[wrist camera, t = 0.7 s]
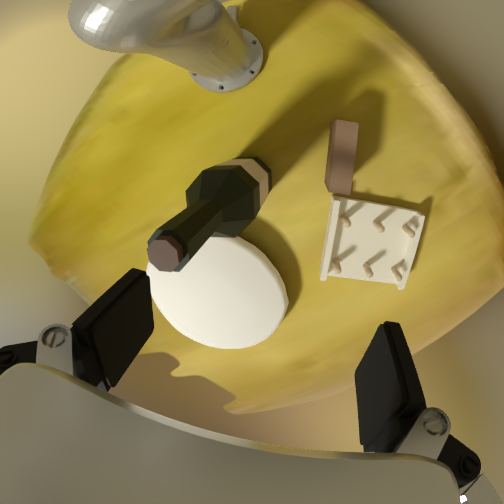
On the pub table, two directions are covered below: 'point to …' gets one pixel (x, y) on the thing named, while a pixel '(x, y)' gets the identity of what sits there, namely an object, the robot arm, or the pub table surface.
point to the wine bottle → (211, 211)
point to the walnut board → (341, 156)
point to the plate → (222, 294)
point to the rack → (370, 241)
